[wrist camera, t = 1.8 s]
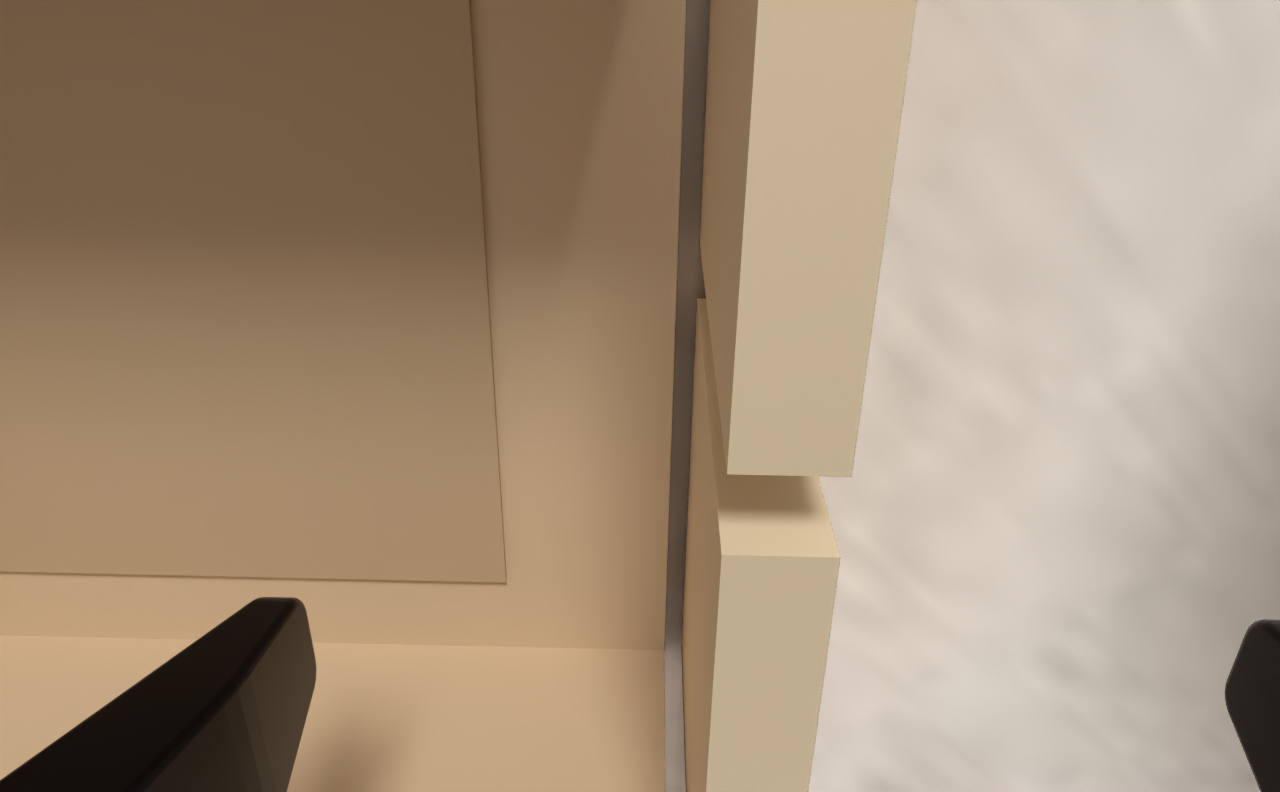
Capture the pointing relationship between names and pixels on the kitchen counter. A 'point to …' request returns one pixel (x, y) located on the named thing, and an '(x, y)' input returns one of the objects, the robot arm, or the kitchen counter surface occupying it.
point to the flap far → (751, 611)
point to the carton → (346, 370)
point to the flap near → (797, 219)
